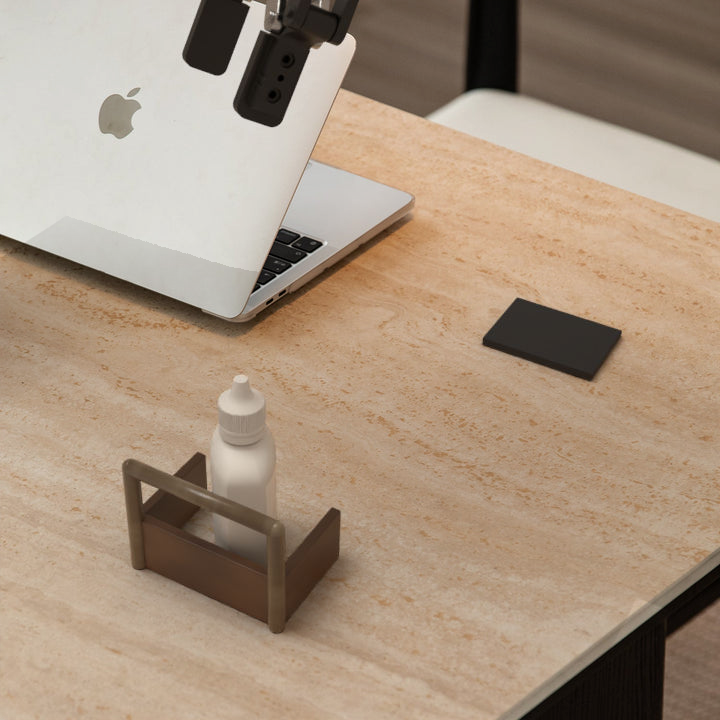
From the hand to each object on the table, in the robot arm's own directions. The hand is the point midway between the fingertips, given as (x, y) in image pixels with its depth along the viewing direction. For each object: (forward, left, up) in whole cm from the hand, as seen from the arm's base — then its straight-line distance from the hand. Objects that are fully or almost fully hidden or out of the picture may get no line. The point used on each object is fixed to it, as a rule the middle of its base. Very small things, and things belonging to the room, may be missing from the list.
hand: (226, 93), depth 58 cm
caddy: (+3, -4, -25) cm, 26 cm away
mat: (+10, +24, -25) cm, 36 cm away
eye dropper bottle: (+3, -4, -25) cm, 26 cm away
